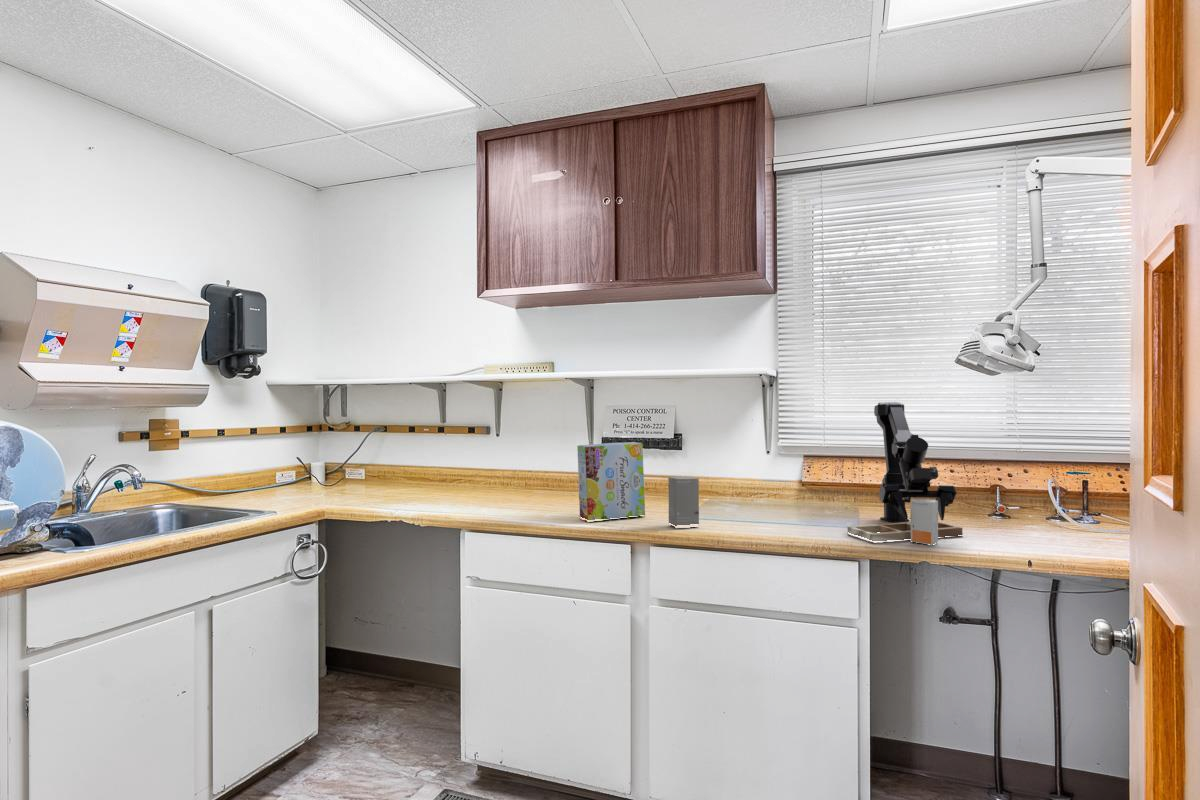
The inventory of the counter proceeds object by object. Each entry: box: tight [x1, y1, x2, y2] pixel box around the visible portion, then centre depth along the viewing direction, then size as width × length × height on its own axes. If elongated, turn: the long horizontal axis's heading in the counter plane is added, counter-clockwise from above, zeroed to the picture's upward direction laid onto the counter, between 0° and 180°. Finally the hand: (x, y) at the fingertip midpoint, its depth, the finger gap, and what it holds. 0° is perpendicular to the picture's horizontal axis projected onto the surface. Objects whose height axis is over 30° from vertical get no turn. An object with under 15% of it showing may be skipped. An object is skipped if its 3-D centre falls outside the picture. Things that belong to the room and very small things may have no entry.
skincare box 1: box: [667, 476, 700, 526], centre depth 211 cm, size 8×7×16 cm
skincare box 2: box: [910, 498, 939, 545], centre depth 183 cm, size 6×4×12 cm
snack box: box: [576, 441, 646, 520], centre depth 227 cm, size 22×9×26 cm, turn 113°
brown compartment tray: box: [846, 521, 964, 541], centre depth 193 cm, size 12×30×2 cm, turn 104°
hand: (924, 519), depth 183 cm, fingers open, 9 cm apart
